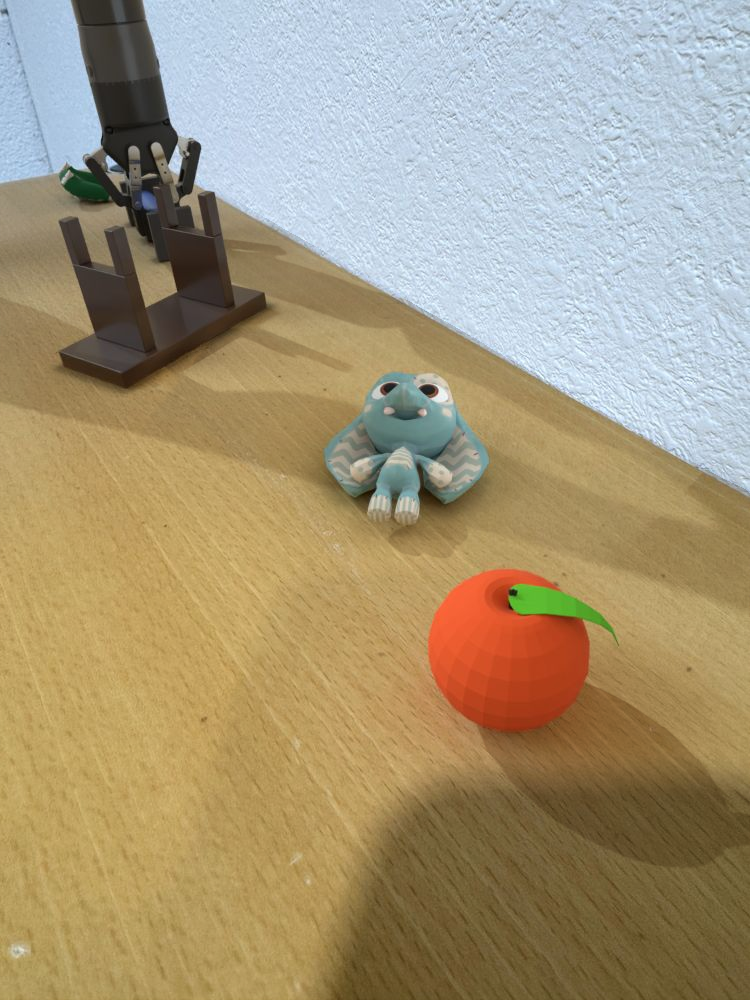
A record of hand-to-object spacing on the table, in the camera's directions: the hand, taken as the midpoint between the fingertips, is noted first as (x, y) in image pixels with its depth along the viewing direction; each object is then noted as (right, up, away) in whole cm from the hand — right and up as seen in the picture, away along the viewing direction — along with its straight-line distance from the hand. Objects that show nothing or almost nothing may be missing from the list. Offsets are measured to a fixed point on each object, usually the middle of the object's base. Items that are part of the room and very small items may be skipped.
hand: (162, 235), depth 85 cm
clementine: (+33, -42, -53) cm, 75 cm away
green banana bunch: (-16, +12, +16) cm, 25 cm away
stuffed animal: (+28, -31, -39) cm, 58 cm away
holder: (+7, -17, -21) cm, 28 cm away
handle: (0, 0, 0) cm, 0 cm away
